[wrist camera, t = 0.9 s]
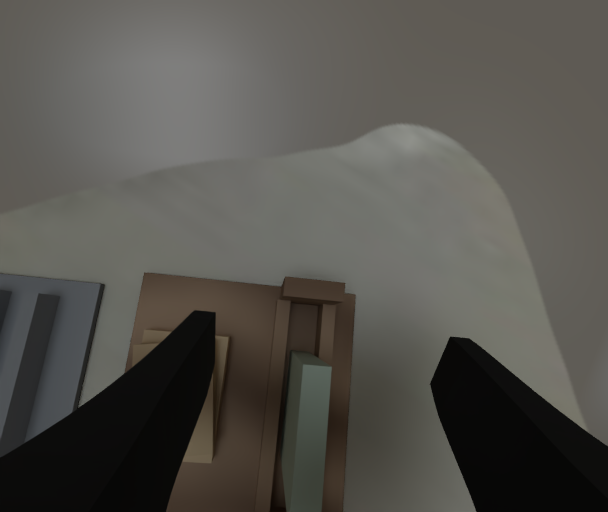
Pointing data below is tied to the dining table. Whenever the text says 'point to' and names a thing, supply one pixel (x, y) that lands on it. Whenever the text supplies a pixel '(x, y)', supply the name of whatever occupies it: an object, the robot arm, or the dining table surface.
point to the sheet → (305, 431)
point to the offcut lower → (221, 363)
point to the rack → (257, 382)
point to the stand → (42, 352)
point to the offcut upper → (205, 426)
